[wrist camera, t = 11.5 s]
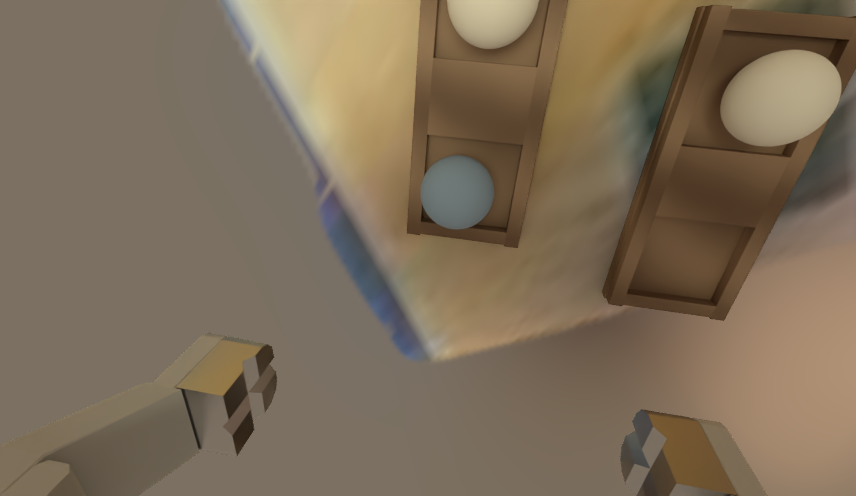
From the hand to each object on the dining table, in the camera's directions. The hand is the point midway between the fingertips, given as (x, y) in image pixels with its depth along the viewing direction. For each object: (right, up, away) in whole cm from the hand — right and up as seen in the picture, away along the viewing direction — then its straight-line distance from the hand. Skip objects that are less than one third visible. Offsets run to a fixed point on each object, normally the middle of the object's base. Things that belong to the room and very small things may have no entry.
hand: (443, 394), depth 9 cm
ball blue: (+2, +7, +14) cm, 16 cm away
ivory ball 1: (+3, +15, +10) cm, 18 cm away
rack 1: (+3, +11, +13) cm, 17 cm away
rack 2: (+15, +7, +13) cm, 21 cm away
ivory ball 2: (+15, +11, +10) cm, 21 cm away
